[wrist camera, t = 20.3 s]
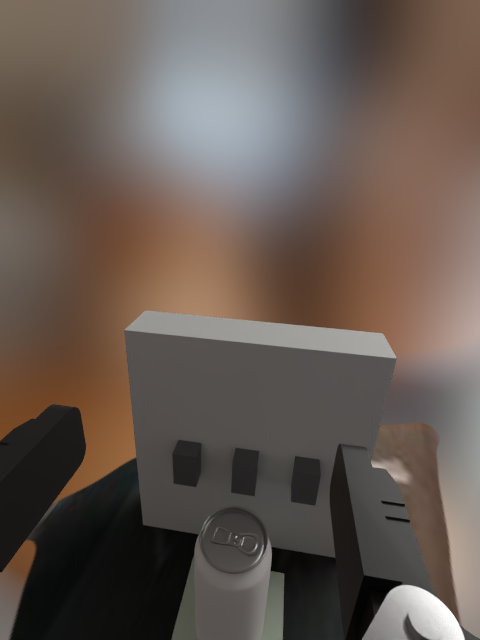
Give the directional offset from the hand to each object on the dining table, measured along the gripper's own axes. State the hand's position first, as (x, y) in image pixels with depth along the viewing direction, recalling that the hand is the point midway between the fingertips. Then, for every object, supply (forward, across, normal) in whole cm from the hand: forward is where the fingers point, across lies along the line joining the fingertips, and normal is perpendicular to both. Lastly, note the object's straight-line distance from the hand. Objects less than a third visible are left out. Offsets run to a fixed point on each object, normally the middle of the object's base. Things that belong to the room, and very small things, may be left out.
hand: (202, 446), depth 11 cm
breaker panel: (+21, 0, +32) cm, 38 cm away
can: (+11, 0, +32) cm, 33 cm away
